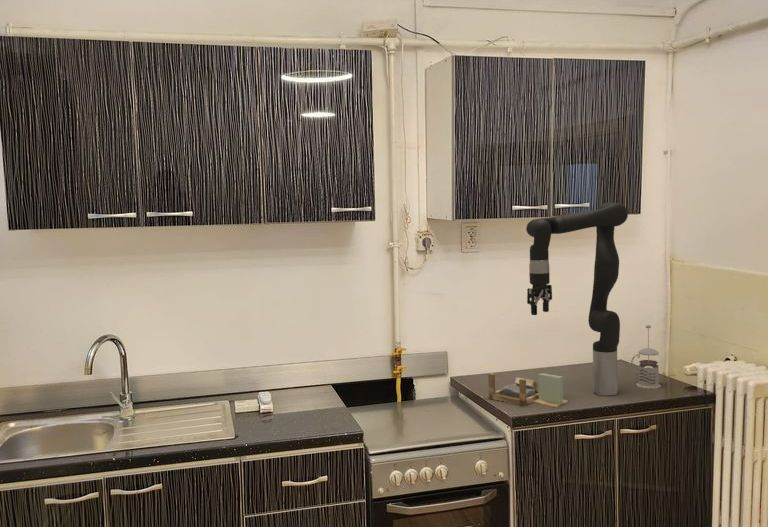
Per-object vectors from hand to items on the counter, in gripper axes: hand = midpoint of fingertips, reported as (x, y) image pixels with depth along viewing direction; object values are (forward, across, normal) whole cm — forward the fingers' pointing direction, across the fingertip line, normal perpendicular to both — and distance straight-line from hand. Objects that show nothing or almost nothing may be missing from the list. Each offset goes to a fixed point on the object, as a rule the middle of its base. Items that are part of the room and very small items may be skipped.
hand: (540, 313), depth 269 cm
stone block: (+34, -1, +10) cm, 36 cm away
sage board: (+33, -2, -5) cm, 34 cm away
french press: (+34, +42, -24) cm, 59 cm away
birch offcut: (+32, +5, +10) cm, 34 cm away
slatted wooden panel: (+34, -2, -5) cm, 34 cm away
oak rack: (+34, -2, +9) cm, 35 cm away
